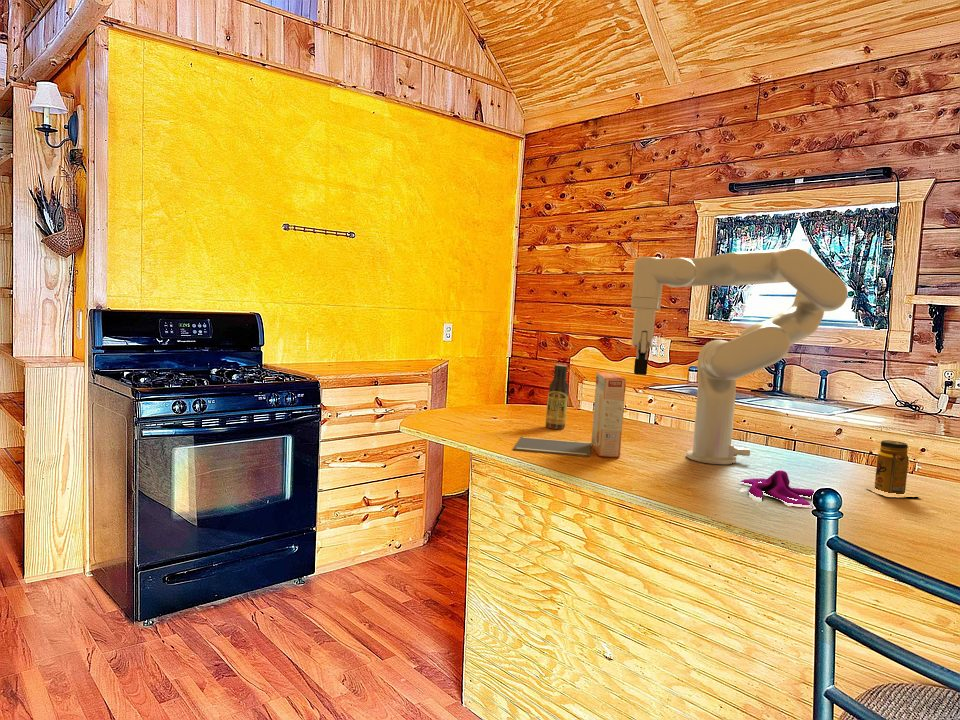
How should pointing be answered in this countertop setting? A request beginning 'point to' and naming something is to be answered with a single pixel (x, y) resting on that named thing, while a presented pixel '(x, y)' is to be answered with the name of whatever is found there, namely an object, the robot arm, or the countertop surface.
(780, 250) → the robot arm
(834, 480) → the countertop surface
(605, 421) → the cracker box
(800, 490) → the cloth
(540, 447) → the mat
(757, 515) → the countertop surface
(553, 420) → the sauce bottle
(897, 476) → the condiment
